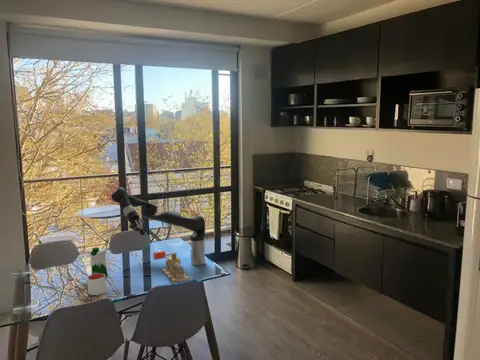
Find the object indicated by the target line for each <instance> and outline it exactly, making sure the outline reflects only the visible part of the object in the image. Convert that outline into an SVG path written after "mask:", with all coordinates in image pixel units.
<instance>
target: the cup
mask: <svg viewBox="0 0 480 360" xmlns="http://www.w3.org/2000/svg"><path fill="white" fill-rule="evenodd" d="M86 279H87V280H86V282H87V290H88V291H87V292H88V294H89V295H90V296H93V295H96V296H101V295H103V294H105V293H106V291H107V281H106V280H107V279H106V277H105V275H104V274H100V273H99V274H93V275H92V274H90V275H88V276H87V277H86ZM100 294H101V295H100Z"/></svg>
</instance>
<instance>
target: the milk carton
mask: <svg viewBox="0 0 480 360" xmlns="http://www.w3.org/2000/svg"><path fill="white" fill-rule="evenodd" d="M88 253H89V256H90V266H91V275H93V274H99V273H100V274H104V275H105V278H107V277H108V275H109V274H108V270H107V258H106V257H107V256H106V255H107V249H106V248H99V247H92V248H91V250H90V251H88Z"/></svg>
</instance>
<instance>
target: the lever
mask: <svg viewBox="0 0 480 360" xmlns="http://www.w3.org/2000/svg"><path fill="white" fill-rule="evenodd" d="M152 255H153V260H155V261H156V260H161V259H166V258H167V257H168V256H171V257H172V256H176V257H177V251H172V252H168V253H166V251H165V250H160V251H154V252H152Z"/></svg>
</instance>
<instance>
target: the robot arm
mask: <svg viewBox="0 0 480 360" xmlns="http://www.w3.org/2000/svg"><path fill="white" fill-rule="evenodd" d="M111 200H112V201H114V202H115V203H116V204H117V203H118V204H119V208H121V211H122V213H123V214H124V216H125V218H126V219H127V221H128V222H129V226H128V228H129V229H131V230H133V231H135V232H139V234H140V235H141V236H145V235H146V231H145V227H146V223H147V222H146V220H142V219H141V217H143V218H144V219H147V220H151V221H158V222H162V223H165V224H169V225H171V226H177V227H180V228H184V229H186V230H189V231H192V233H191V235H190V262H191V265H192V266H202V265H204V264H206V258H205V257H206V256H205V255H206V253H205V251H206V250H205V236H206V221H205V218H204V217H203V216H201V215H196V216H193V217H185V216H182V215H181V214H180V213H179V212H176V211H174V210H166V211H164V212H161V213H159V214H157V211H158V206H157V205H155V204H153V203H150V202H148V201H146V200H142V199H140V198H137V197H135V196H133V195H131V194H129V193H128V191H127V190H126V188H124V187H119V188H117V189H116V190H115V191H114V192H113V193H112V194H111ZM142 206H144V208H143V210H142V212H141V217H140V214H139V213H138V211H137V210H136V208H138V207H142Z"/></svg>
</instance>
